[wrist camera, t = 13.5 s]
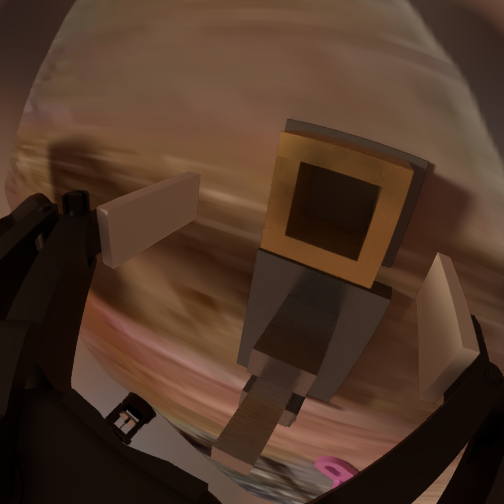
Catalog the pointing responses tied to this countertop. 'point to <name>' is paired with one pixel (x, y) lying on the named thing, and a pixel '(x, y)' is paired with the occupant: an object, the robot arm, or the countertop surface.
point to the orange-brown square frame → (323, 231)
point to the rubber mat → (358, 190)
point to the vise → (294, 348)
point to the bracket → (335, 469)
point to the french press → (137, 409)
